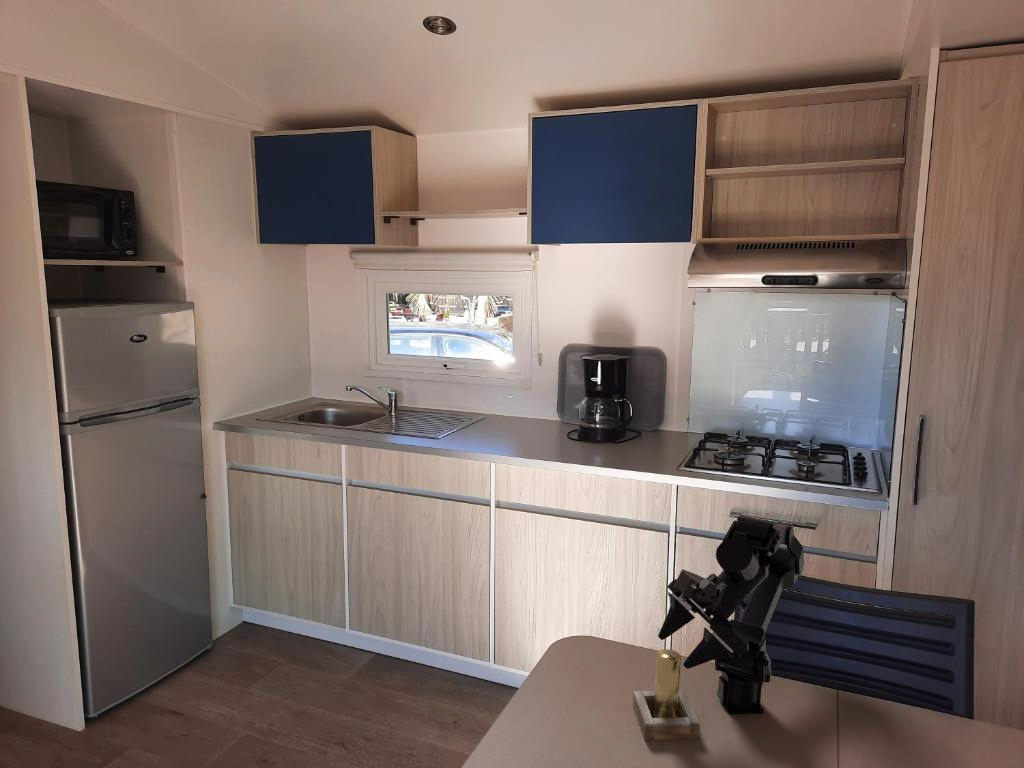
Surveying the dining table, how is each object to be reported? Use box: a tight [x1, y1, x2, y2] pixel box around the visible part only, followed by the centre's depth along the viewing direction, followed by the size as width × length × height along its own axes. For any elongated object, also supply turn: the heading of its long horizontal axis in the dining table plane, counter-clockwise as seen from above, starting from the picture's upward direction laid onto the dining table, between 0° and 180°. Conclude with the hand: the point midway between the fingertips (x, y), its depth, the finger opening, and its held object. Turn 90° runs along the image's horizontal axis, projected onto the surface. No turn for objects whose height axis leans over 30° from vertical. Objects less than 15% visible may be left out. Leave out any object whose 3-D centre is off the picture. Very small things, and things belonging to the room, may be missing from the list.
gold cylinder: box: [653, 648, 682, 718], centre depth 124 cm, size 4×4×12 cm
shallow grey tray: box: [632, 689, 701, 741], centre depth 125 cm, size 9×9×3 cm
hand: (671, 652), depth 123 cm, fingers open, 9 cm apart
